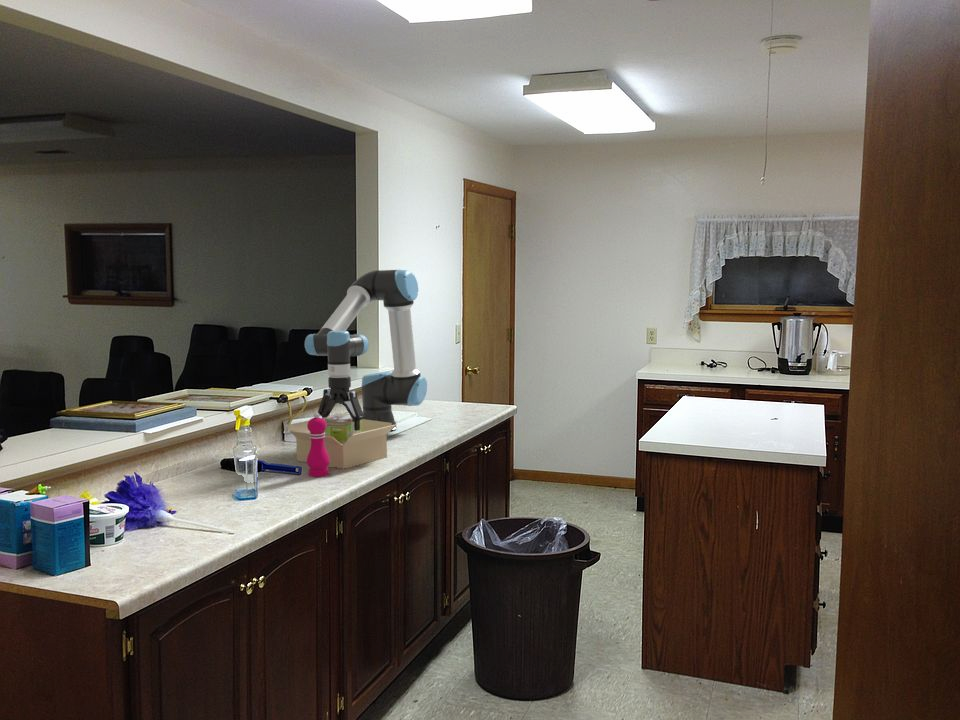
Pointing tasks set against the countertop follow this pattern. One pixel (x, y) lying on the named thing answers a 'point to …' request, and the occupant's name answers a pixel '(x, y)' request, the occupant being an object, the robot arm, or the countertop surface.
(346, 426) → the tea box
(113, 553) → the countertop surface
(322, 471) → the pepper mill
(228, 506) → the countertop surface
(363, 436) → the carton
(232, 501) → the countertop surface
